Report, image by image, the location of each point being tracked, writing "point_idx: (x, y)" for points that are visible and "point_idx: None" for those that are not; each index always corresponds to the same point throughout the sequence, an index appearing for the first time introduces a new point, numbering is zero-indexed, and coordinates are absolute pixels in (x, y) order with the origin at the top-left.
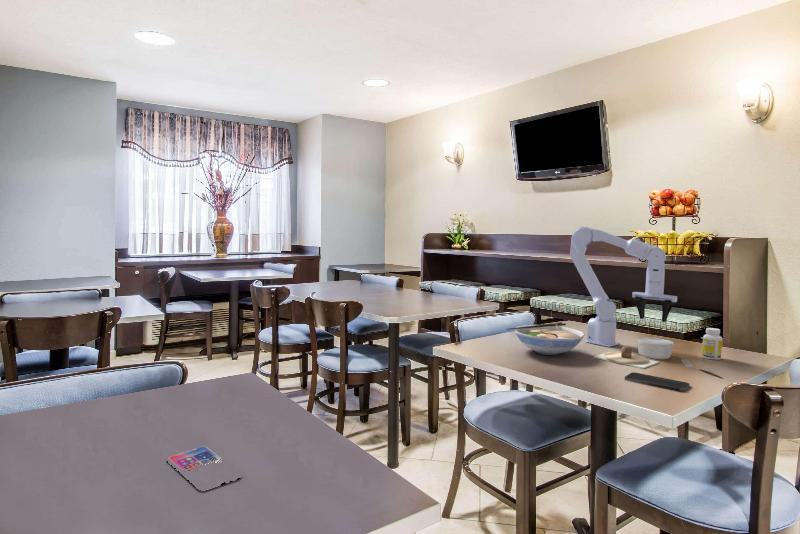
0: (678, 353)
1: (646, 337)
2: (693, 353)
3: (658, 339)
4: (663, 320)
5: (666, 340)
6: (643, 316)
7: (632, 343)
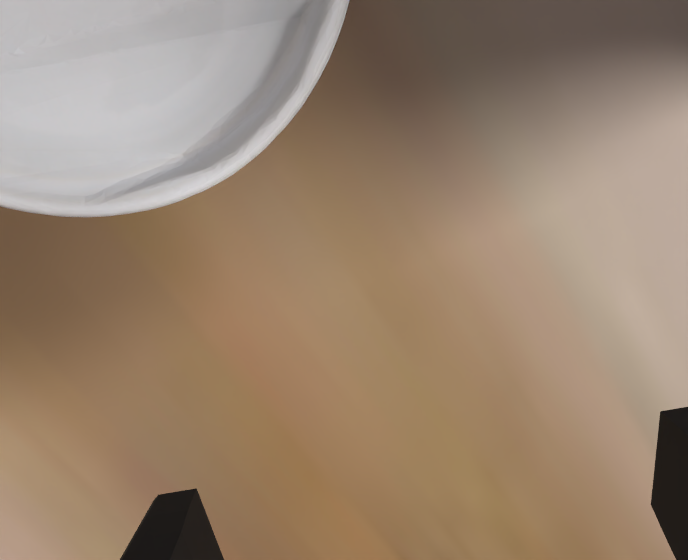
0: (104, 310)
1: (314, 50)
2: (57, 432)
3: (173, 170)
4: (152, 517)
5: (45, 194)
6: (675, 515)
7: (641, 276)
